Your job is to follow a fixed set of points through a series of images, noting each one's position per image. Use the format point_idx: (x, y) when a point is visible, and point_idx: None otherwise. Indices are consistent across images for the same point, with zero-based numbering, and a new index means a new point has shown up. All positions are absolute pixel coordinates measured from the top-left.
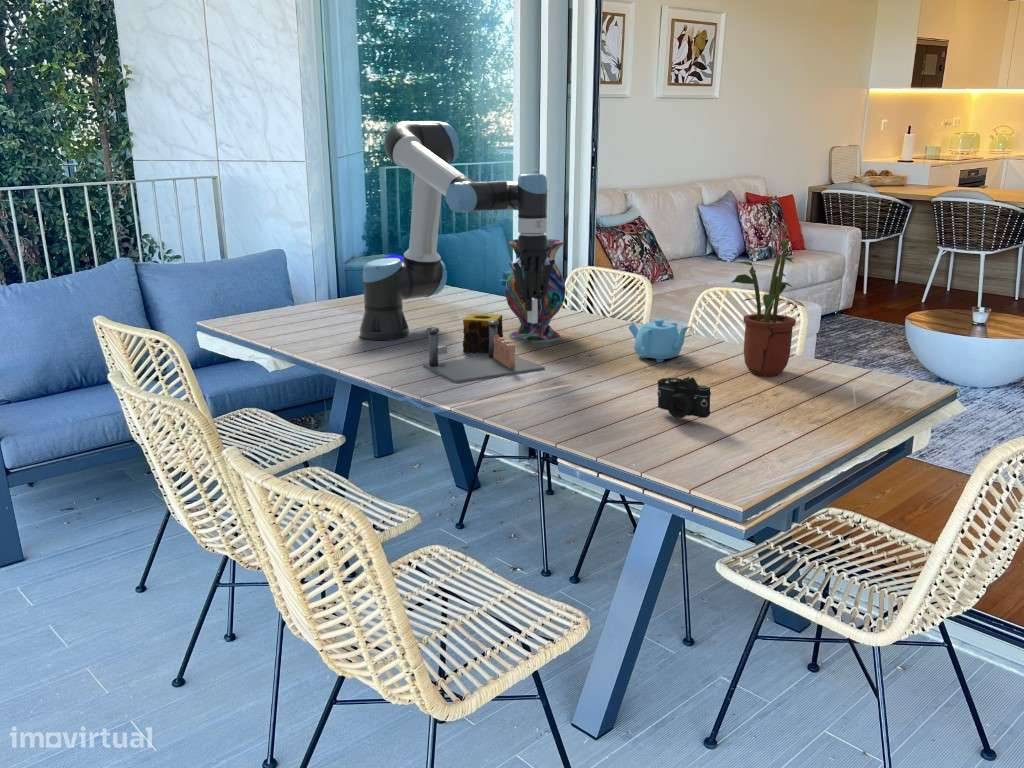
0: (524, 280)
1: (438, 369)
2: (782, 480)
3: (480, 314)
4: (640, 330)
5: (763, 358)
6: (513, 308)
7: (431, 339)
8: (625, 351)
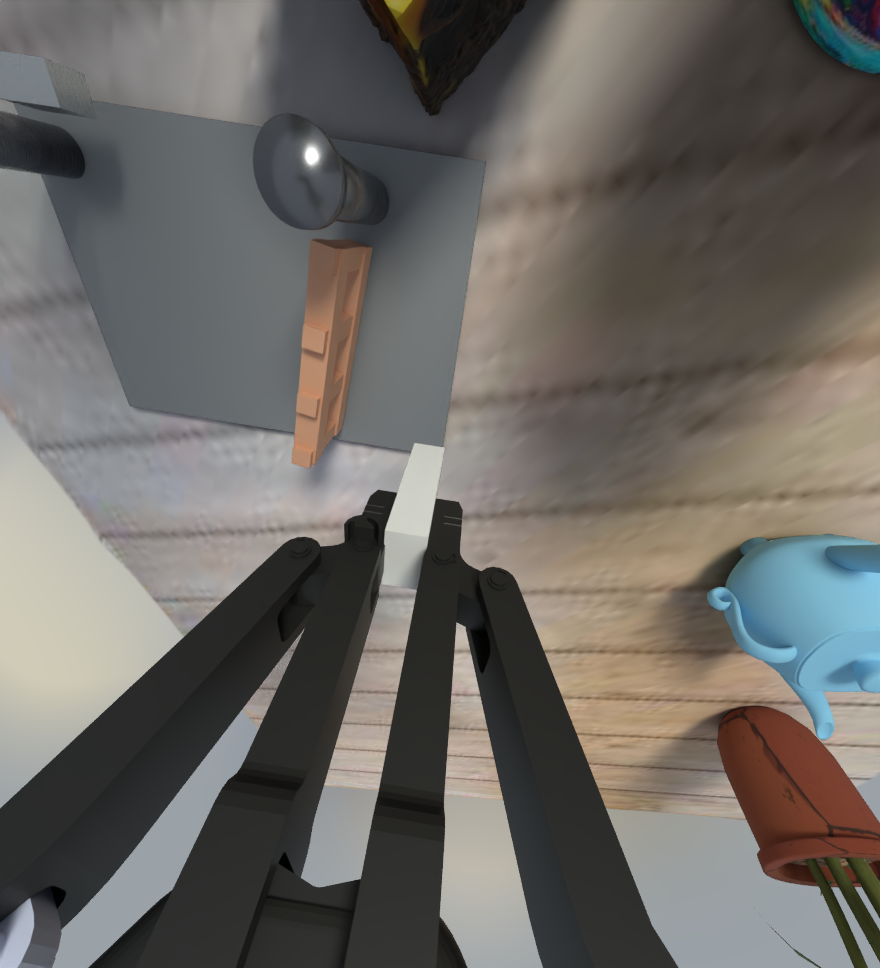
0: (286, 673)
1: (83, 237)
2: (365, 787)
3: None
4: (809, 620)
5: (724, 768)
6: None
7: None
8: (849, 458)
